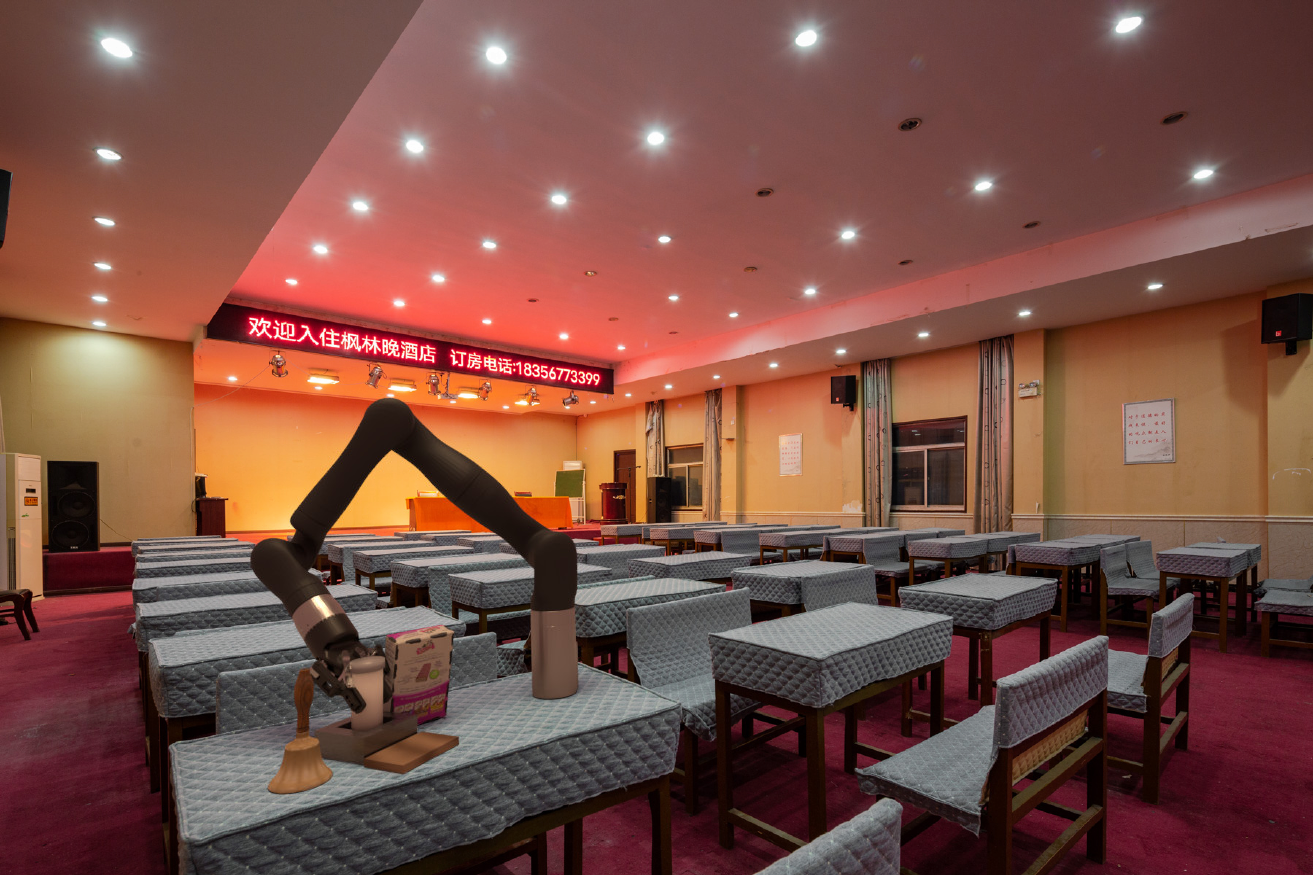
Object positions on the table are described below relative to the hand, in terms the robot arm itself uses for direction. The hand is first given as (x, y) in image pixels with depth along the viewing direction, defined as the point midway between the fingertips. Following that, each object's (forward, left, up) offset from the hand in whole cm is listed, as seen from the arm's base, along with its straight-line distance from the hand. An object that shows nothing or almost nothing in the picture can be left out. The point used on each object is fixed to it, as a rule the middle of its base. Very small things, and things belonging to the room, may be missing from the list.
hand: (375, 704), depth 104 cm
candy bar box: (-12, -4, -7) cm, 14 cm away
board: (0, +8, -7) cm, 11 cm away
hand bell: (+13, -1, -7) cm, 15 cm away
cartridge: (0, -2, -7) cm, 7 cm away
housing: (0, -2, -7) cm, 7 cm away
